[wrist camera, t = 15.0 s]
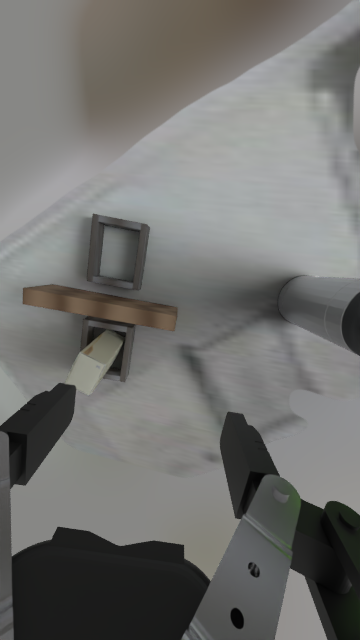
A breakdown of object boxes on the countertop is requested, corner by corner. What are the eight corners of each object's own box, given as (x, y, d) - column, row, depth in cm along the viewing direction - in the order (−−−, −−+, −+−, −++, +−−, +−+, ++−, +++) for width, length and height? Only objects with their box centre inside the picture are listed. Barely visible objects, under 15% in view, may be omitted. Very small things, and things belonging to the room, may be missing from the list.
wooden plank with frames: (191, 235, 40) (193, 227, 32) (163, 381, 46) (160, 403, 39) (56, 209, 39) (25, 194, 31) (48, 361, 45) (20, 380, 38)
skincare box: (107, 327, 44) (79, 349, 32) (127, 337, 44) (107, 363, 32) (93, 354, 45) (62, 384, 33) (112, 364, 46) (88, 397, 34)
